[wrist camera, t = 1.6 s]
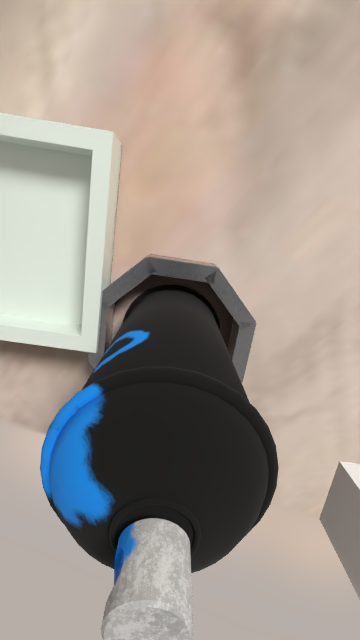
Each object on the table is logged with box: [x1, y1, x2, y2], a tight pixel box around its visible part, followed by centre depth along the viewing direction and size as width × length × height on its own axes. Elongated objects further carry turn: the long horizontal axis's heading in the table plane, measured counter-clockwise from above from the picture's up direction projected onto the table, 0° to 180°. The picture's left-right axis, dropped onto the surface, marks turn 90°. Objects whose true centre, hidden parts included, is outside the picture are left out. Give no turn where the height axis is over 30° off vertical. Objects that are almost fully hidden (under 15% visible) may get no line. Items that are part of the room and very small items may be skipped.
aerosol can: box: [40, 285, 278, 640], centre depth 16 cm, size 8×8×20 cm
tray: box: [0, 113, 122, 353], centre depth 22 cm, size 15×15×3 cm
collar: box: [88, 254, 256, 382], centre depth 24 cm, size 12×12×2 cm
